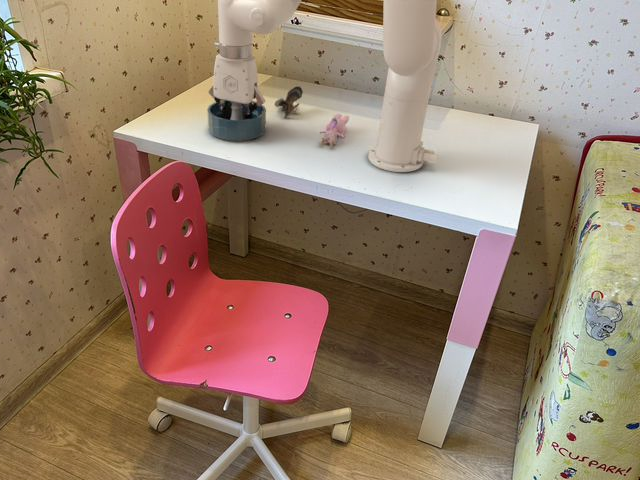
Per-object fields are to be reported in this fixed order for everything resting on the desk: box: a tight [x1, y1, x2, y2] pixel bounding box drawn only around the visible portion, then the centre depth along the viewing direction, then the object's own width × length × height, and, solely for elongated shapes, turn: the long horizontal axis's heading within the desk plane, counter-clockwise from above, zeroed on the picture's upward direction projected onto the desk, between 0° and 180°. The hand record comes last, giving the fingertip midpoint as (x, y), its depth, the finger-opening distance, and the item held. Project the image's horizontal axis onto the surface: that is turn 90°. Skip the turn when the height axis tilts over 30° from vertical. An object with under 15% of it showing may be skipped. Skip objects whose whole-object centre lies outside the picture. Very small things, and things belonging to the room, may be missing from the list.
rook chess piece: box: [230, 101, 243, 120], centre depth 137 cm, size 4×4×8 cm
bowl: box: [206, 100, 267, 142], centre depth 138 cm, size 14×14×6 cm
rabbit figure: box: [319, 113, 350, 149], centre depth 137 cm, size 6×6×15 cm
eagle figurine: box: [274, 86, 304, 119], centre depth 148 cm, size 8×7×9 cm
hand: (236, 125), depth 139 cm, fingers open, 5 cm apart
